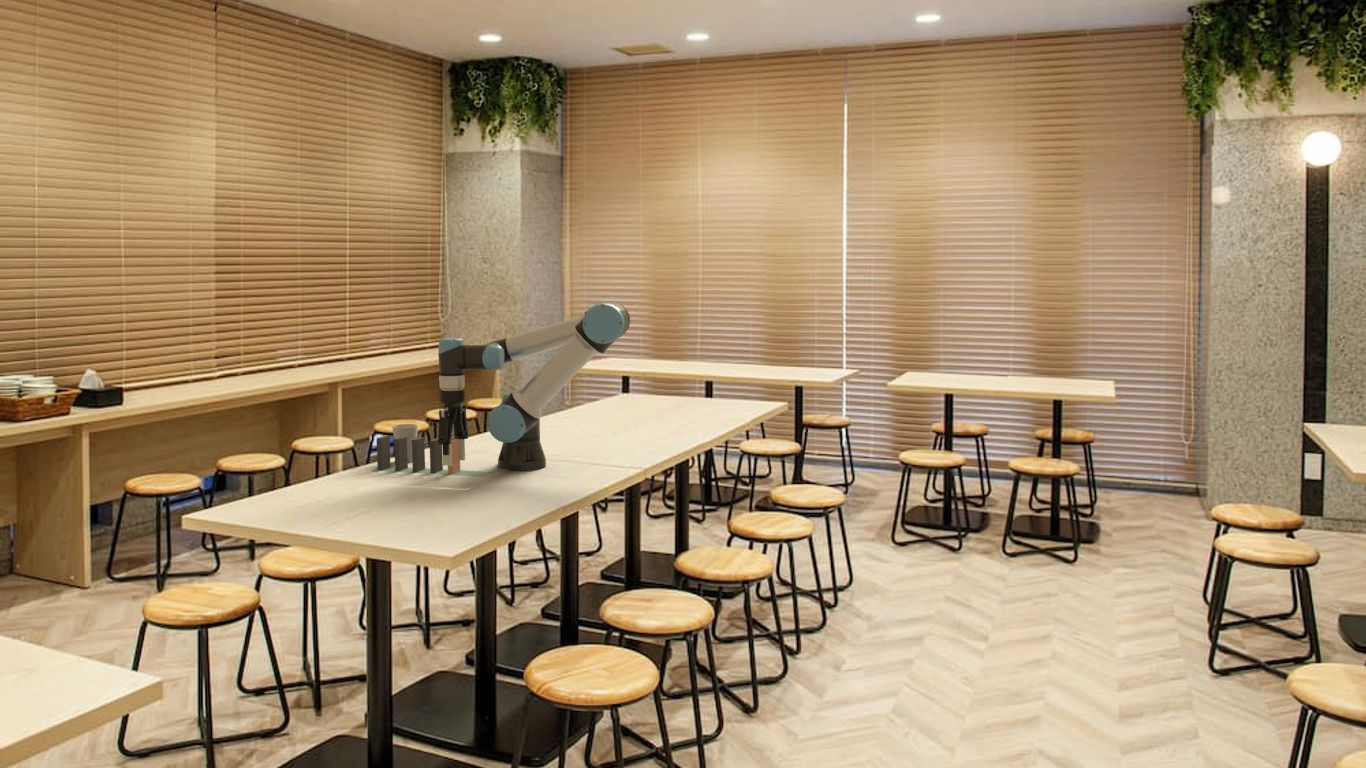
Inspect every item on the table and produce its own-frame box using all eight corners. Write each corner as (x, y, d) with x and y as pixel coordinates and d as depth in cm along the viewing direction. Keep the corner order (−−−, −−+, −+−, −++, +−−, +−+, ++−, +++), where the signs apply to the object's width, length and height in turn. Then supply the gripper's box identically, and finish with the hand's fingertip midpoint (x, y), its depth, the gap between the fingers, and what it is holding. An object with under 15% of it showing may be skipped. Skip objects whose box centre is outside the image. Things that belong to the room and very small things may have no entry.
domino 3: (425, 469, 336) (424, 437, 335) (417, 472, 331) (416, 440, 330) (420, 468, 336) (419, 437, 335) (412, 472, 331) (411, 439, 330)
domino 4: (442, 470, 334) (441, 438, 333) (435, 473, 330) (434, 440, 328) (438, 469, 335) (437, 438, 334) (430, 472, 330) (429, 440, 329)
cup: (412, 465, 344) (411, 428, 343) (389, 464, 346) (387, 427, 344) (423, 460, 352) (422, 424, 351) (400, 459, 354) (399, 423, 352)
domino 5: (460, 471, 333) (459, 439, 332) (452, 474, 328) (451, 441, 327) (455, 470, 333) (454, 438, 332) (448, 473, 328) (447, 441, 327)
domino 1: (390, 467, 339) (389, 435, 338) (382, 470, 334) (381, 438, 333) (385, 467, 339) (384, 435, 338) (377, 470, 334) (376, 438, 333)
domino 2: (407, 468, 337) (406, 436, 336) (399, 471, 332) (398, 439, 331) (403, 468, 338) (402, 436, 337) (395, 471, 333) (394, 439, 332)
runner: (493, 473, 331) (493, 472, 331) (484, 477, 324) (484, 476, 324) (382, 467, 341) (382, 466, 341) (371, 471, 334) (371, 470, 334)
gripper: (456, 384, 339) (458, 456, 341) (424, 392, 318) (426, 468, 321) (478, 385, 337) (480, 457, 339) (447, 393, 317) (449, 469, 319)
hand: (454, 462), depth 330 cm, fingers open, 8 cm apart
